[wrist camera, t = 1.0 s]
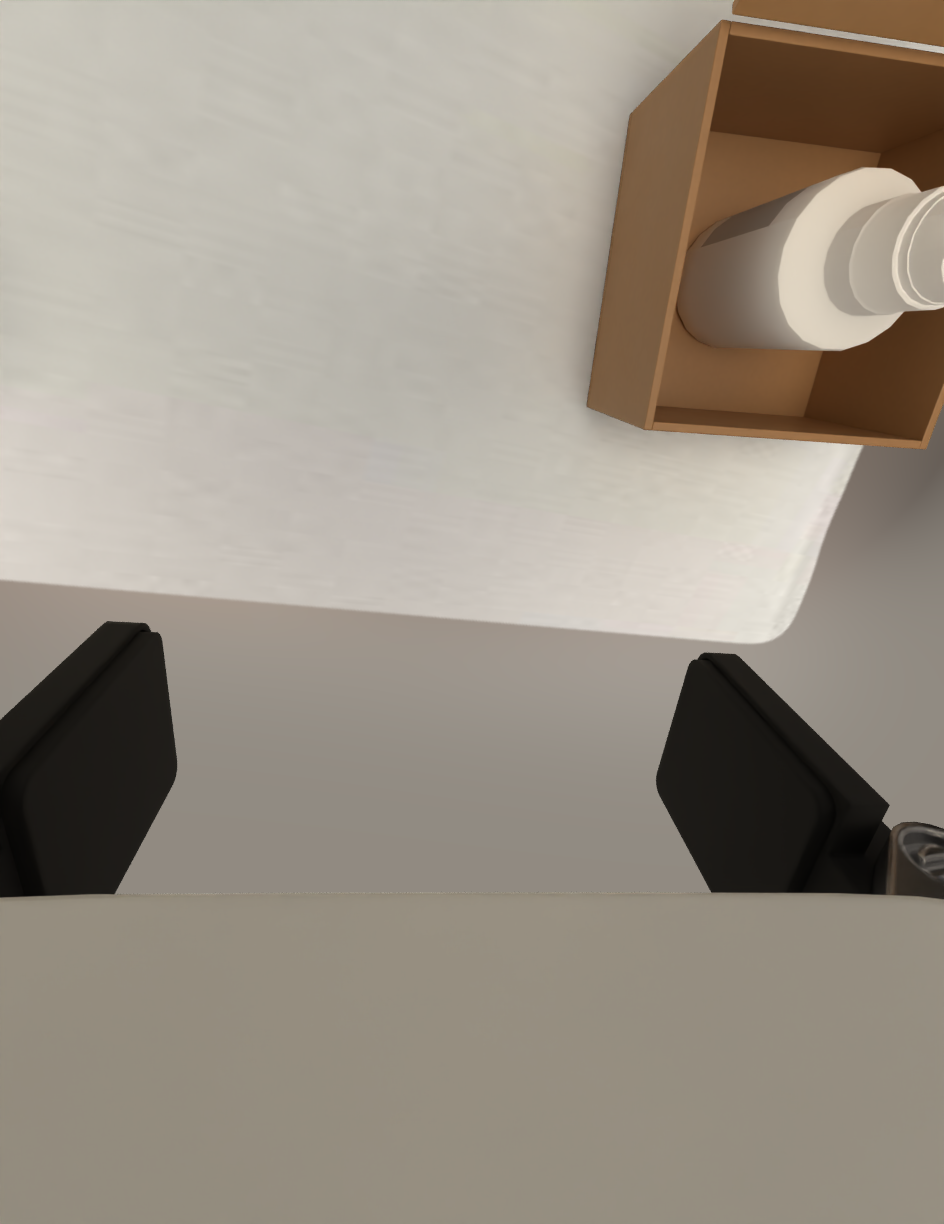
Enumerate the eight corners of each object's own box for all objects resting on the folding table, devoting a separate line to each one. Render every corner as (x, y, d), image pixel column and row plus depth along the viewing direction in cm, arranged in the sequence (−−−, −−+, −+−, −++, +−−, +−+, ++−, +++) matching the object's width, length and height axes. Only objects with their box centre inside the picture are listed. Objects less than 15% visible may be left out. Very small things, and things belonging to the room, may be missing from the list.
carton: (629, 114, 32) (721, 18, 22) (884, 147, 33) (1070, 72, 24) (586, 406, 38) (644, 429, 28) (803, 422, 39) (926, 449, 30)
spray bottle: (807, 286, 35) (1140, 243, 19) (714, 372, 37) (949, 400, 21) (746, 185, 33) (1069, 38, 17) (650, 282, 35) (859, 233, 18)
